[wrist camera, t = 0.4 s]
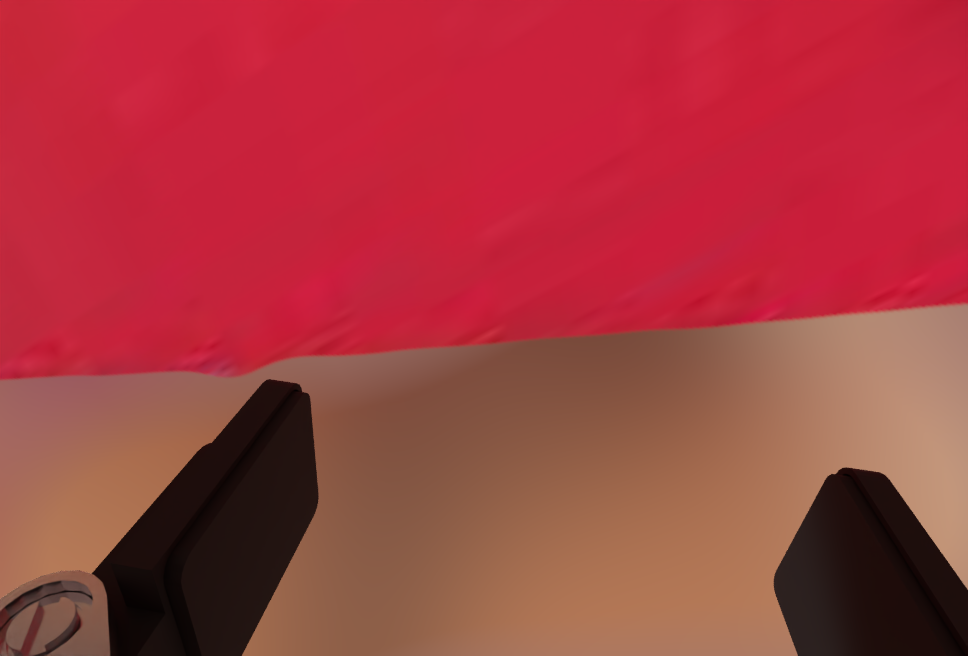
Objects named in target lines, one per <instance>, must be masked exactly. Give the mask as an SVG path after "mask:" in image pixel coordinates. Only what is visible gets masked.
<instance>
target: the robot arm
mask: <svg viewBox="0 0 968 656" xmlns="http://www.w3.org/2000/svg"><path fill="white" fill-rule="evenodd" d="M317 504H318V485H317V472H316V461H315V449H314V439H313V427H312V415H311V403H310V396H309V394H308V393H304V392H302V389H301V387H300V385H299V384H297V383H290V382H283V381H277V380H271V379H269V380H266V381H265V382H264V383H262V385H261V386H260V387H259V388H258V389H257V390H256V392H255V393H254V394H253V395H252V396H251V397H250V399H249V400H248V401H247V402H246V403H245V405H244V406H243V407H242V408H241V409H240V411H239V412H238V413H237V414H236V415H235V416H234V417H233V419H232V420H231V421H230V422H229V423H228V425H227V426H226V427H225V428H224V429H223V431H222V432H221V433H220V434H219V435H218V436H217V437H216V439H215V440H214V441H213V442H212V443H209V444H207V445H205V446H203V447H202V448H201V449H200V450H199V451H198V452H197V453H196V454H195V455H194V456H193V457H192V459H191V460H190V461H189V462H188V463H187V464H186V466H185V467H184V468H183V469H182V470H181V471H180V473H179V474H178V475H177V476H176V477H175V478H174V479H173V481H172V482H171V483H170V484H169V485H168V486H167V487H166V489H165V490H164V491H163V492H162V493H161V494H160V496H159V497H158V498H157V499H156V500H155V501H154V502H153V504H152V505H151V506H150V507H149V508H148V509H147V511H146V512H145V513H144V514H143V515H142V516H141V517H140V519H139V520H138V521H137V522H136V523H135V524H134V526H133V527H132V528H131V529H130V530H129V532H127V534H126V535H125V536H124V537H123V538H122V539H121V541H120V542H119V543H118V544H117V545H116V546H115V548H114V549H113V550H112V551H111V552H110V553H109V554H108V556H107V557H106V558H105V559H104V560H103V561H102V563H101V564H100V565H99V566H98V567H97V568H96V570H95V571H94V572H93V573H92V574H90V573H86V572H82V571H60V572H56V573H52V574H48V575H44V576H41V577H39V578H36V579H34V580H32V581H30V582H28V583H25V584H23V585H21V586H19V587H18V588H16V589H15V590H13V591H12V592H10V593H9V594H7V595H6V596H4V597H2V598H1V599H0V656H242V654H243V652H244V650H245V648H246V646H247V644H248V643H249V640H250V639H251V637H252V635H253V633H254V631H255V629H256V627H257V625H258V623H259V621H260V619H261V617H262V615H263V613H264V611H265V609H266V608H267V605H268V603H269V602H270V600H271V598H272V596H273V594H274V592H275V590H276V588H277V586H278V584H279V582H280V580H281V578H282V577H283V575H284V573H285V571H286V568H287V567H288V565H289V563H290V561H291V559H292V557H293V555H294V553H295V551H296V549H297V547H298V545H299V544H300V541H301V540H302V538H303V536H304V534H305V532H306V530H307V528H308V526H309V524H310V522H311V520H312V518H313V516H314V514H315V511H316V508H317ZM774 590H775V594H776V597H777V600H778V602H779V605H780V608H781V611H782V613H783V616H784V619H785V621H786V624H787V627H788V629H789V632H790V635H791V638H792V641H793V643H794V646H795V648H796V651H797V654H798V656H968V590H967V588H966V587H965V585H964V584H963V583H962V581H961V580H960V578H959V577H958V576H957V574H956V573H955V571H954V570H953V568H952V567H951V566H950V564H949V563H948V561H947V560H946V559H945V557H944V556H943V554H942V553H941V552H940V550H939V549H938V547H937V546H936V545H935V543H934V542H933V540H932V539H931V538H930V536H929V535H928V534H927V532H926V531H925V529H924V528H923V526H922V525H921V523H920V522H919V521H918V519H917V518H916V516H915V515H914V514H913V512H912V511H911V510H910V508H909V507H908V505H907V504H906V502H905V501H904V500H903V498H902V497H901V495H900V494H899V493H898V491H897V490H896V488H895V487H894V486H893V484H892V483H891V481H890V480H889V479H888V478H887V477H886V476H885V475H884V474H882V473H879V472H873V471H867V470H860V469H853V468H842V469H840V470H839V471H838V472H837V474H831V475H829V476H828V477H827V478H826V480H825V482H824V484H823V485H822V487H821V489H820V491H819V493H818V495H817V496H816V499H815V500H814V502H813V504H812V506H811V508H810V509H809V511H808V513H807V515H806V517H805V519H804V520H803V522H802V524H801V526H800V528H799V530H798V532H797V533H796V535H795V537H794V539H793V541H792V543H791V544H790V546H789V548H788V550H787V552H786V554H785V556H784V558H783V560H782V561H781V563H780V565H779V567H778V569H777V571H776V573H775V576H774Z"/></svg>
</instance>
